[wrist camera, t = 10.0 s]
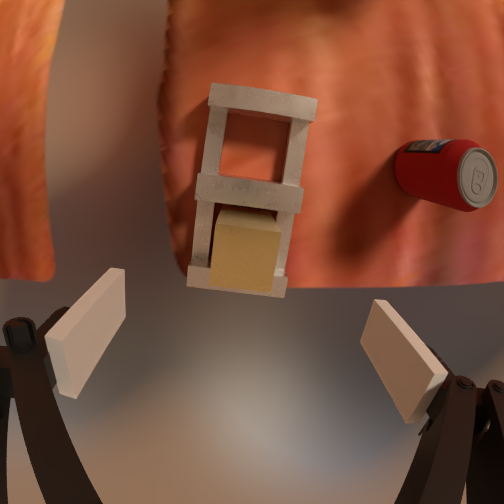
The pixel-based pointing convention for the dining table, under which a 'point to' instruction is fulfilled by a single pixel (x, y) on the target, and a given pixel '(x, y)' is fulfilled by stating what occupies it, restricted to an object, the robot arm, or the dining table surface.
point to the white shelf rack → (244, 188)
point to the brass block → (244, 249)
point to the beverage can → (447, 173)
